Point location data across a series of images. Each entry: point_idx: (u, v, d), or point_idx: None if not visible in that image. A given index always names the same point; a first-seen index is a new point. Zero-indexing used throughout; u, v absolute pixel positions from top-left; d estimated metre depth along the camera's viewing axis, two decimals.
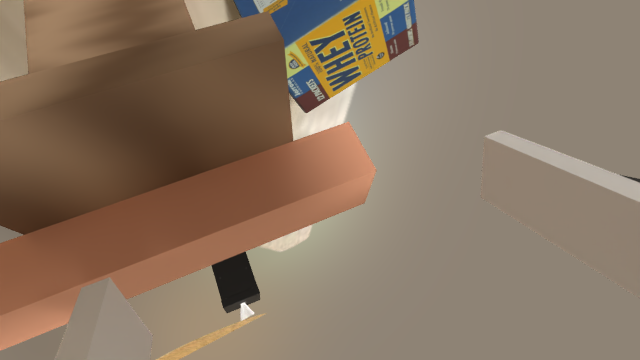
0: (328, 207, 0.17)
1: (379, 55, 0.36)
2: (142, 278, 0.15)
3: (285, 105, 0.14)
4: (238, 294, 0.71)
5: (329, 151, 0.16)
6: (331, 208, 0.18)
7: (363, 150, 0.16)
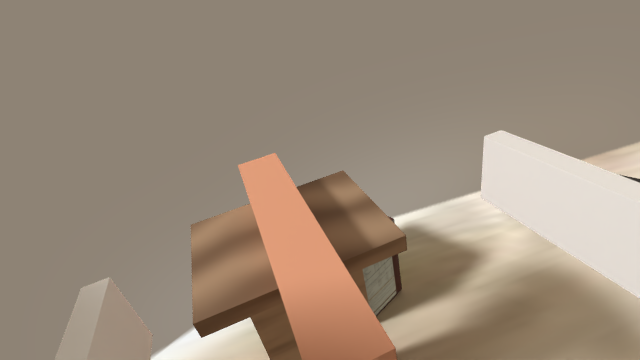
0: (264, 167, 0.33)
1: None
2: (284, 217, 0.25)
3: (224, 213, 0.32)
4: None
5: None
6: (267, 165, 0.33)
7: None
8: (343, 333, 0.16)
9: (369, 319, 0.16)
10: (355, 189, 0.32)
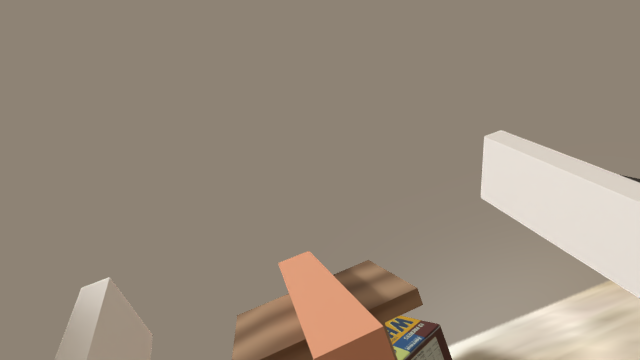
0: (299, 259, 0.39)
1: None
2: (309, 281, 0.30)
3: None
4: None
5: None
6: (301, 258, 0.39)
7: None
8: (344, 327, 0.19)
9: (366, 316, 0.20)
10: (377, 269, 0.36)
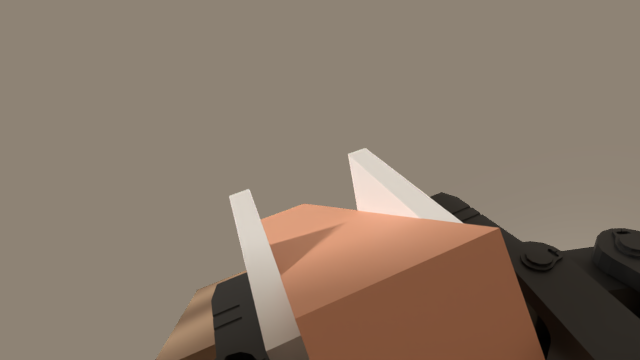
0: (288, 211, 0.27)
1: None
2: (301, 220, 0.18)
3: (239, 273, 0.25)
4: None
5: None
6: (292, 209, 0.27)
7: None
8: (378, 249, 0.07)
9: (431, 226, 0.08)
10: None
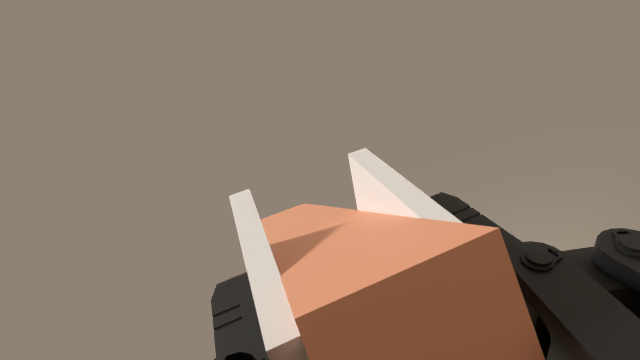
0: (288, 211, 0.27)
1: None
2: (301, 220, 0.18)
3: None
4: None
5: None
6: (292, 209, 0.27)
7: None
8: (378, 249, 0.07)
9: (430, 226, 0.08)
10: None
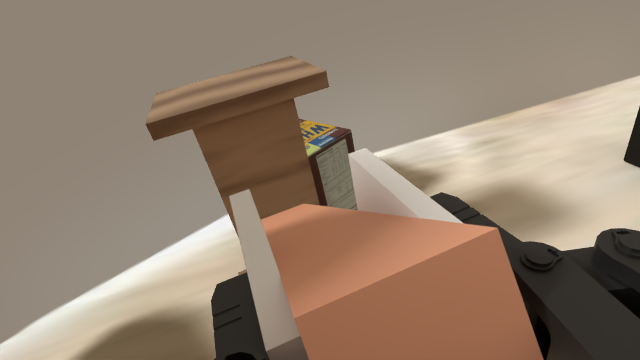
0: (289, 211, 0.27)
1: (302, 124, 0.61)
2: (301, 220, 0.18)
3: (185, 85, 0.38)
4: None
5: None
6: (293, 209, 0.27)
7: None
8: (377, 249, 0.08)
9: (430, 226, 0.08)
10: (296, 61, 0.37)
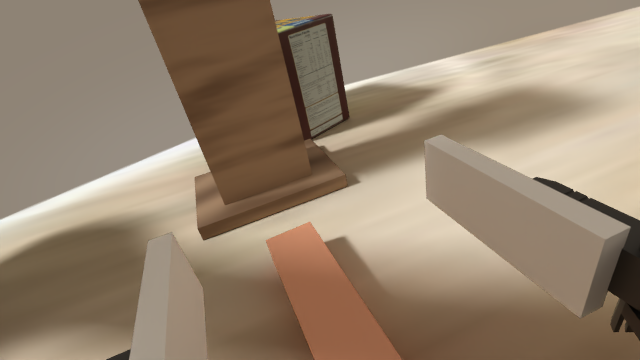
0: (301, 245, 0.26)
1: (277, 21, 0.52)
2: (350, 345, 0.18)
3: None
4: None
5: None
6: (304, 242, 0.26)
7: None
8: None
9: None
10: None
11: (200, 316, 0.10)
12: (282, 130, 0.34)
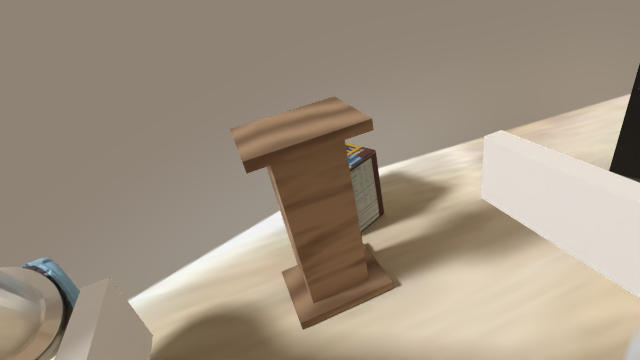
0: None
1: None
2: None
3: (252, 122, 0.47)
4: None
5: None
6: None
7: None
8: None
9: None
10: (342, 103, 0.47)
11: None
12: (353, 257, 0.52)
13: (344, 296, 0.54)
